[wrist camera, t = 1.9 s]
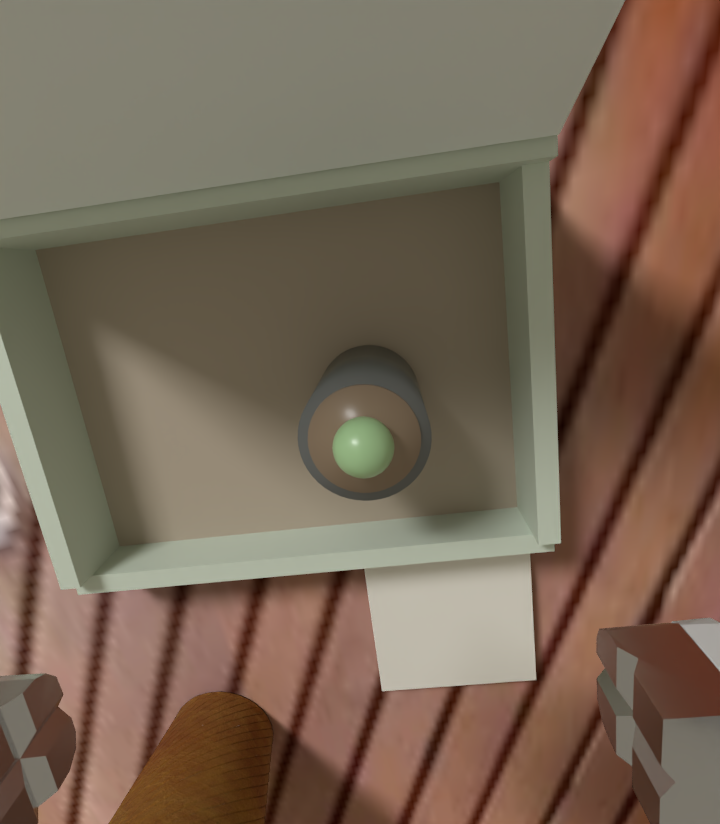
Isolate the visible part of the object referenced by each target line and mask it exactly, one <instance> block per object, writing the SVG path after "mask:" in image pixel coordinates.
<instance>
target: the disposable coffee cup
mask: <svg viewBox="0 0 720 824" xmlns="http://www.w3.org/2000/svg"><path fill="white" fill-rule="evenodd" d="M272 742H273V731H272V726H271V723H270V721H269V719H268V717H267V716H266V714H265V713H264V712H263V710H262V709H260V708H259V707H258V706H257V705H256V704H255V703H253V702H252V701H250V700H249V699H246V698H244V697H242V696H240V695H236V694H232V693H227V692H211V693H206V694H202V695H199V696H196V697H194V698H193V699H191V700H190V701H188V702H187V703H186V704H185V705H184V706H183V707H182V708H181V709H180V711H179V713H178V714H177V716H176V717H175V719H174V721H173V722H172V724H171V726H170V727H169V729H168V730H167V732H166V733H165V735H164V737H163V738H162V740H161V741H160V743H159V744H158V746H157V748H156V749H155V751H154V752H153V754H152V756H151V757H150V759H149V760H148V762H147V764H146V765H145V767H144V768H143V770H142V772H141V773H140V775H139V776H138V778H137V779H136V781H135V783H134V784H133V786H132V787H131V789H130V791H129V792H128V794H127V795H126V797H125V798H124V800H123V802H122V803H121V805H120V806H119V808H118V810H117V811H116V813H115V814H114V816H113V818H112V819H111V821H110V822H109V824H264V823H265V815H266V803H267V792H268V782H269V772H270V761H271V751H272Z"/></svg>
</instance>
